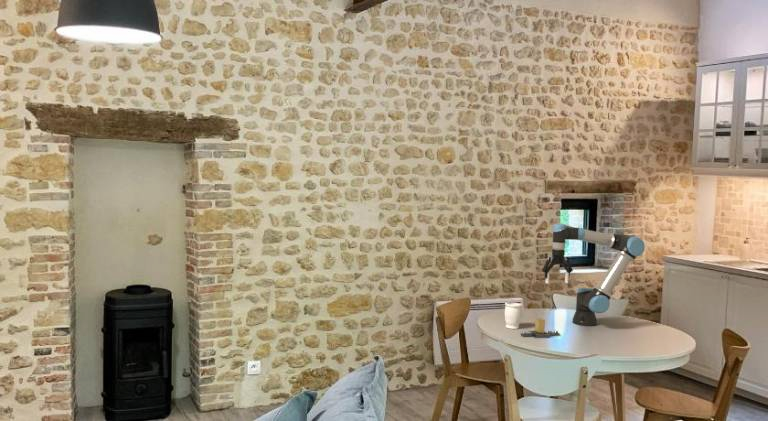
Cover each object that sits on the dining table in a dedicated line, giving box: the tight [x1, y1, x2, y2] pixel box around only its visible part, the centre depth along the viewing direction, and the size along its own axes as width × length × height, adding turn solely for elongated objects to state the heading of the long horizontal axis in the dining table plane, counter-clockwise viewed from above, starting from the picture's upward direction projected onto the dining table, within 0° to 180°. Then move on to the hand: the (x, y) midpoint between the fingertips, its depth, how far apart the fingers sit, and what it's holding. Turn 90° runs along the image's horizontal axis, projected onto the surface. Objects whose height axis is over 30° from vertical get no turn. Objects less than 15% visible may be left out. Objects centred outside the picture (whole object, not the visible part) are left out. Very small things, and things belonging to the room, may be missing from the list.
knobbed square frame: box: [520, 330, 560, 339], centre depth 396 cm, size 24×9×2 cm, turn 106°
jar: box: [504, 301, 523, 330], centre depth 414 cm, size 11×10×15 cm
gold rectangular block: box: [534, 318, 546, 334], centre depth 396 cm, size 4×4×10 cm
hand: (556, 283), depth 414 cm, fingers open, 13 cm apart
